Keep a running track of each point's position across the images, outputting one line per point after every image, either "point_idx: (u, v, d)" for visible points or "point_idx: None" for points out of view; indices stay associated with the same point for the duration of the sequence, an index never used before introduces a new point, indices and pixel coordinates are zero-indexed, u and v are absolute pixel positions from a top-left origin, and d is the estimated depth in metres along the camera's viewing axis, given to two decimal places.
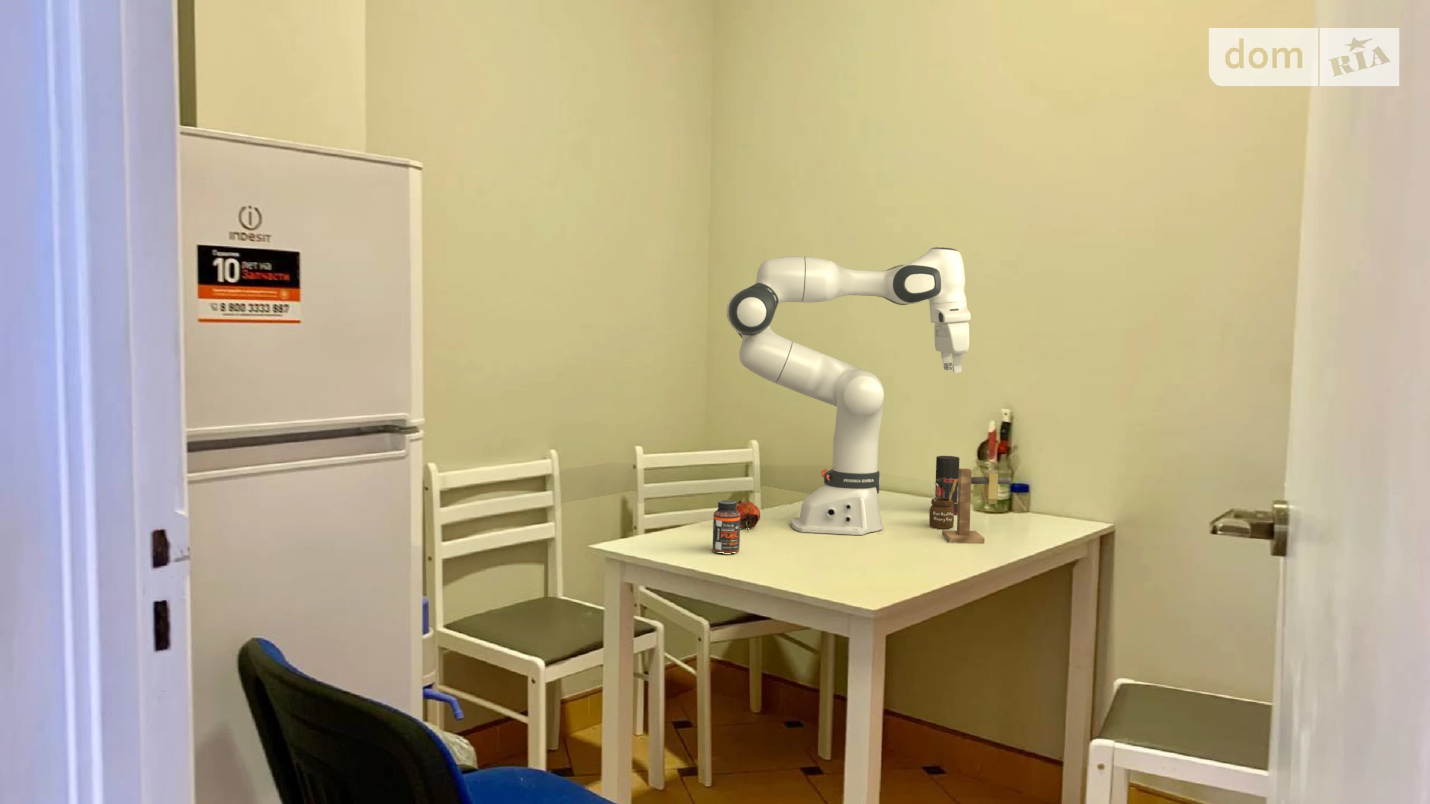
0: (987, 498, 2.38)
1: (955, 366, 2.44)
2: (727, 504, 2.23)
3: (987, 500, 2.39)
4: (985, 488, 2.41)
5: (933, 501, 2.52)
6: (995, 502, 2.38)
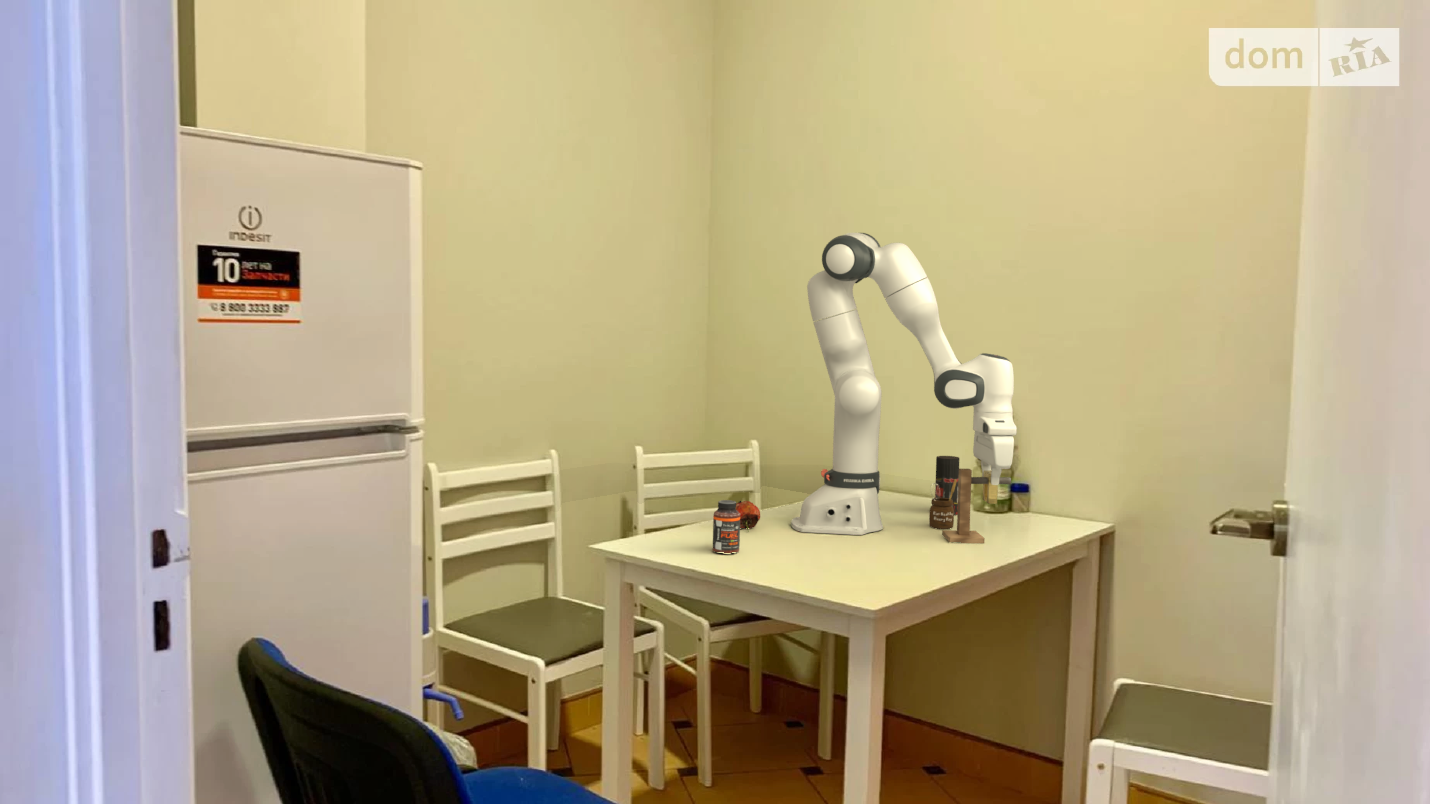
0: (987, 498, 2.38)
1: (993, 478, 2.36)
2: (727, 504, 2.23)
3: (987, 500, 2.39)
4: (985, 488, 2.41)
5: (933, 501, 2.52)
6: (995, 502, 2.38)
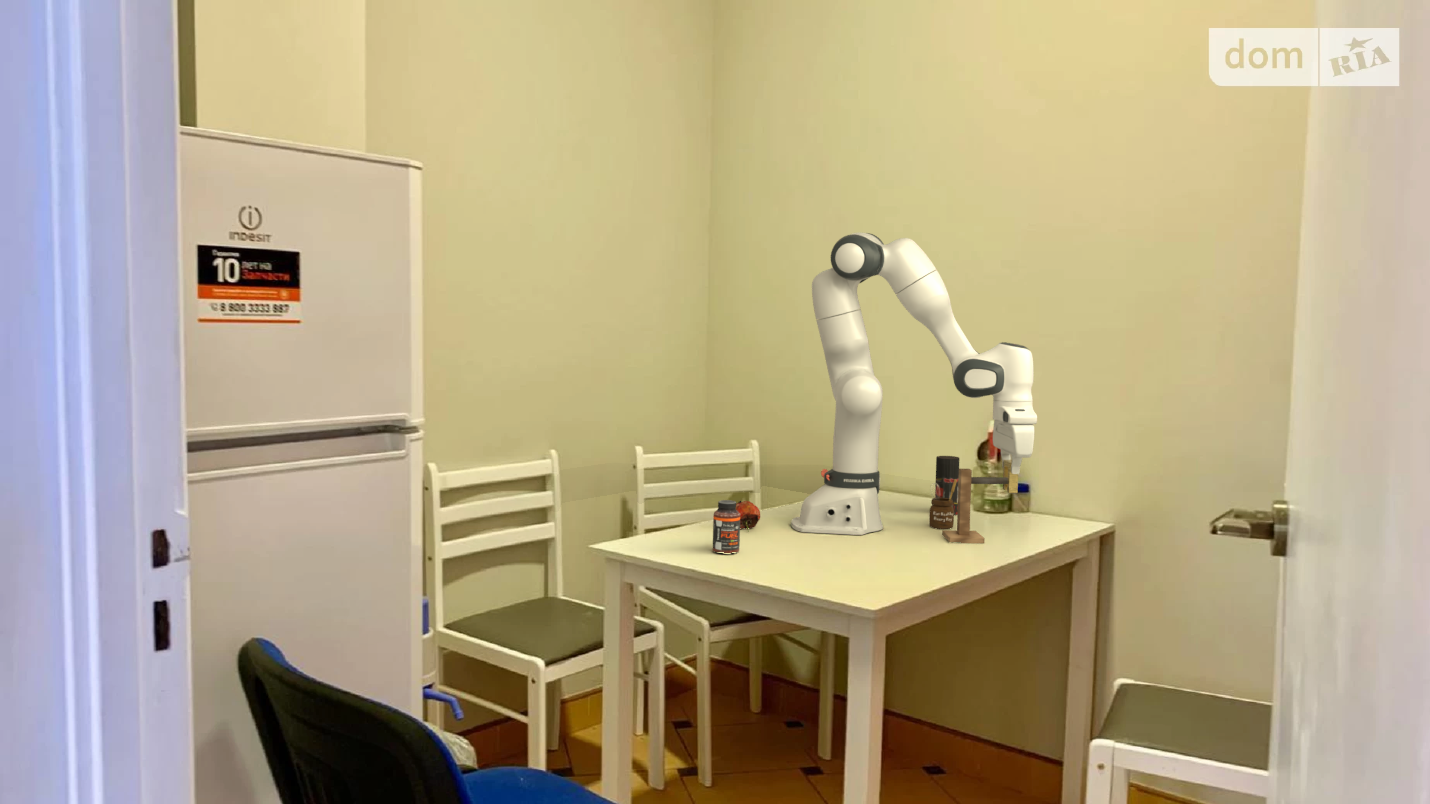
0: (1008, 488, 2.38)
1: (1013, 467, 2.35)
2: (727, 504, 2.23)
3: (1007, 489, 2.38)
4: None
5: (933, 501, 2.52)
6: (1016, 491, 2.37)
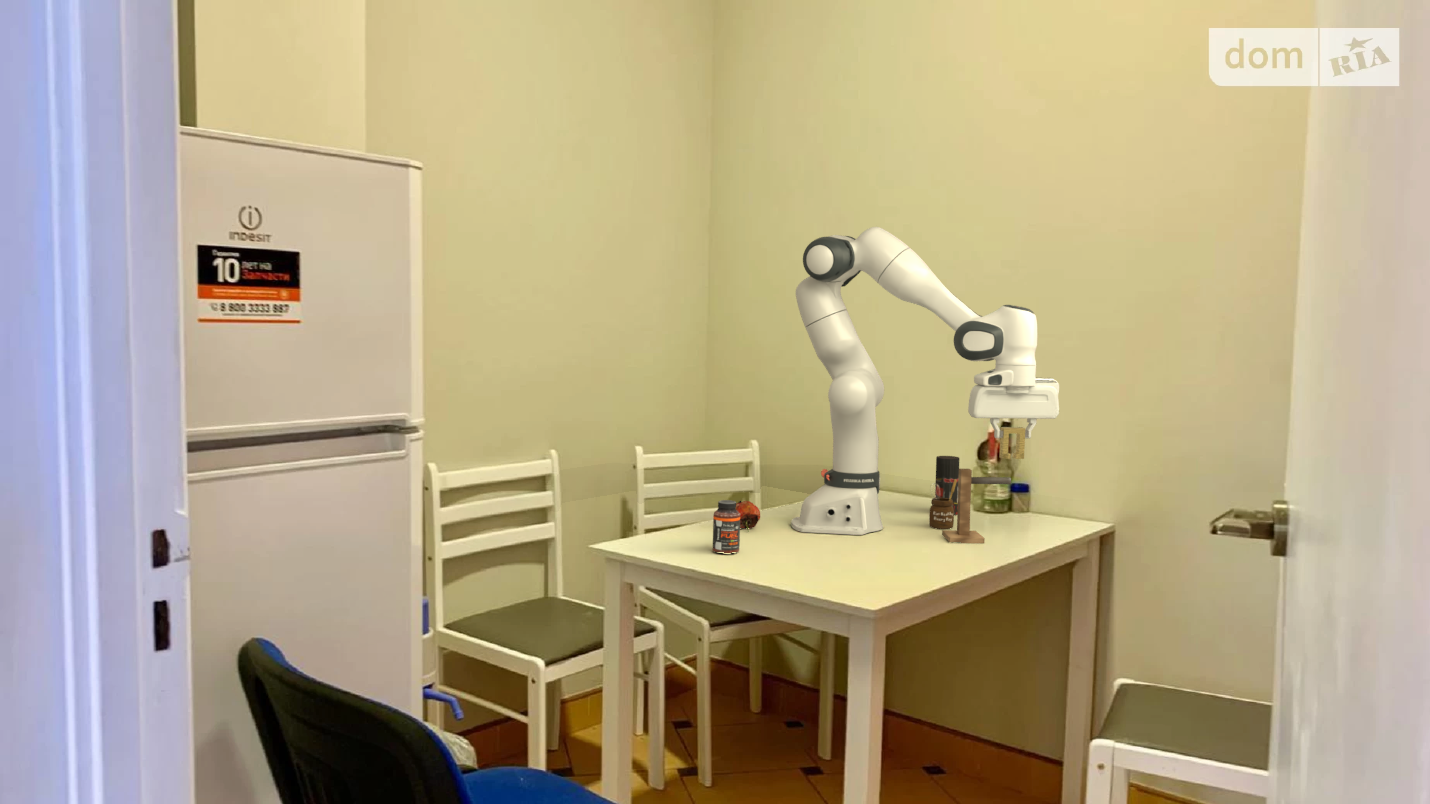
0: None
1: (995, 430, 2.33)
2: (727, 504, 2.23)
3: None
4: (1016, 445, 2.34)
5: (933, 501, 2.52)
6: (1002, 457, 2.32)
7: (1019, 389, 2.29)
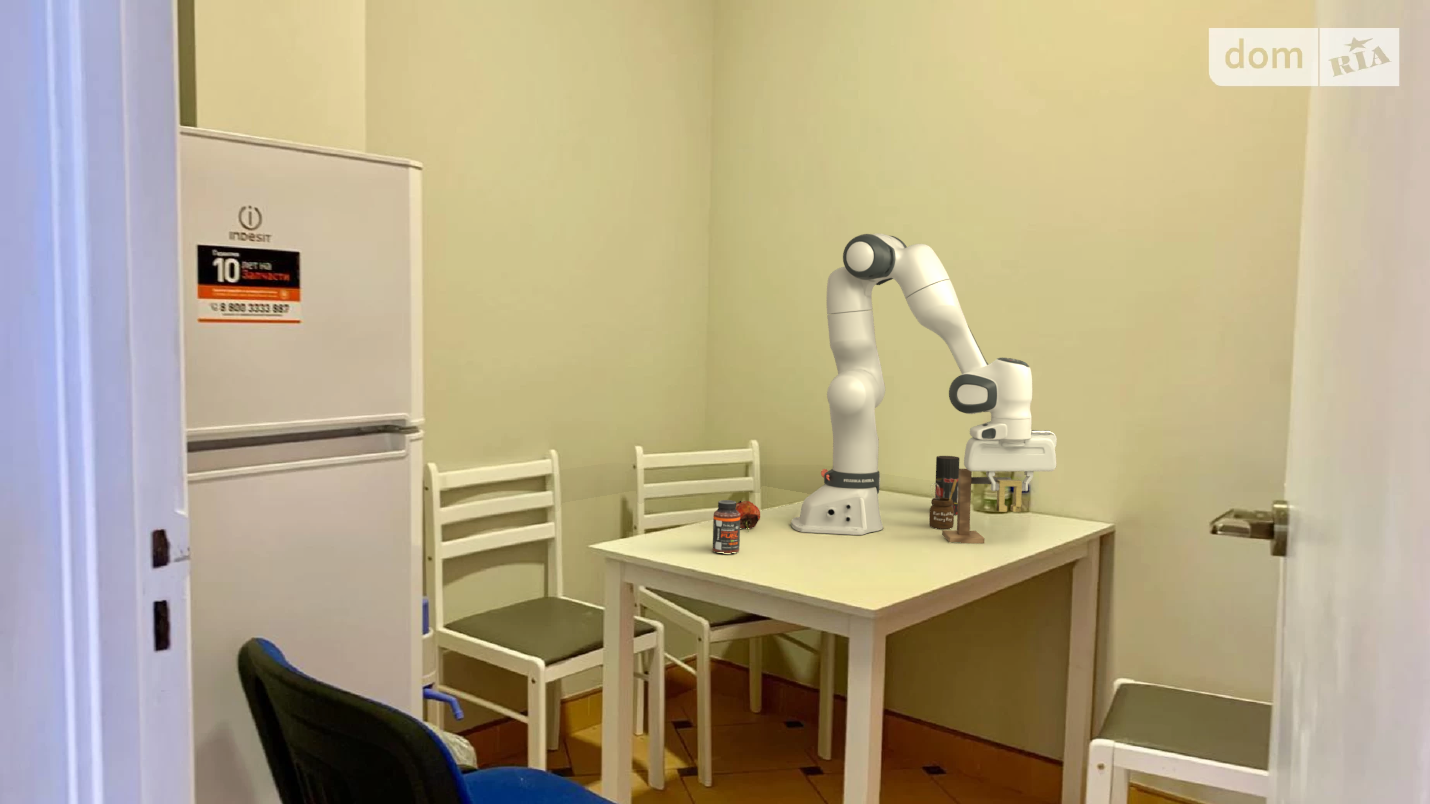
0: None
1: (991, 483, 2.33)
2: (727, 504, 2.23)
3: None
4: None
5: (933, 501, 2.52)
6: (998, 510, 2.32)
7: (1014, 442, 2.28)
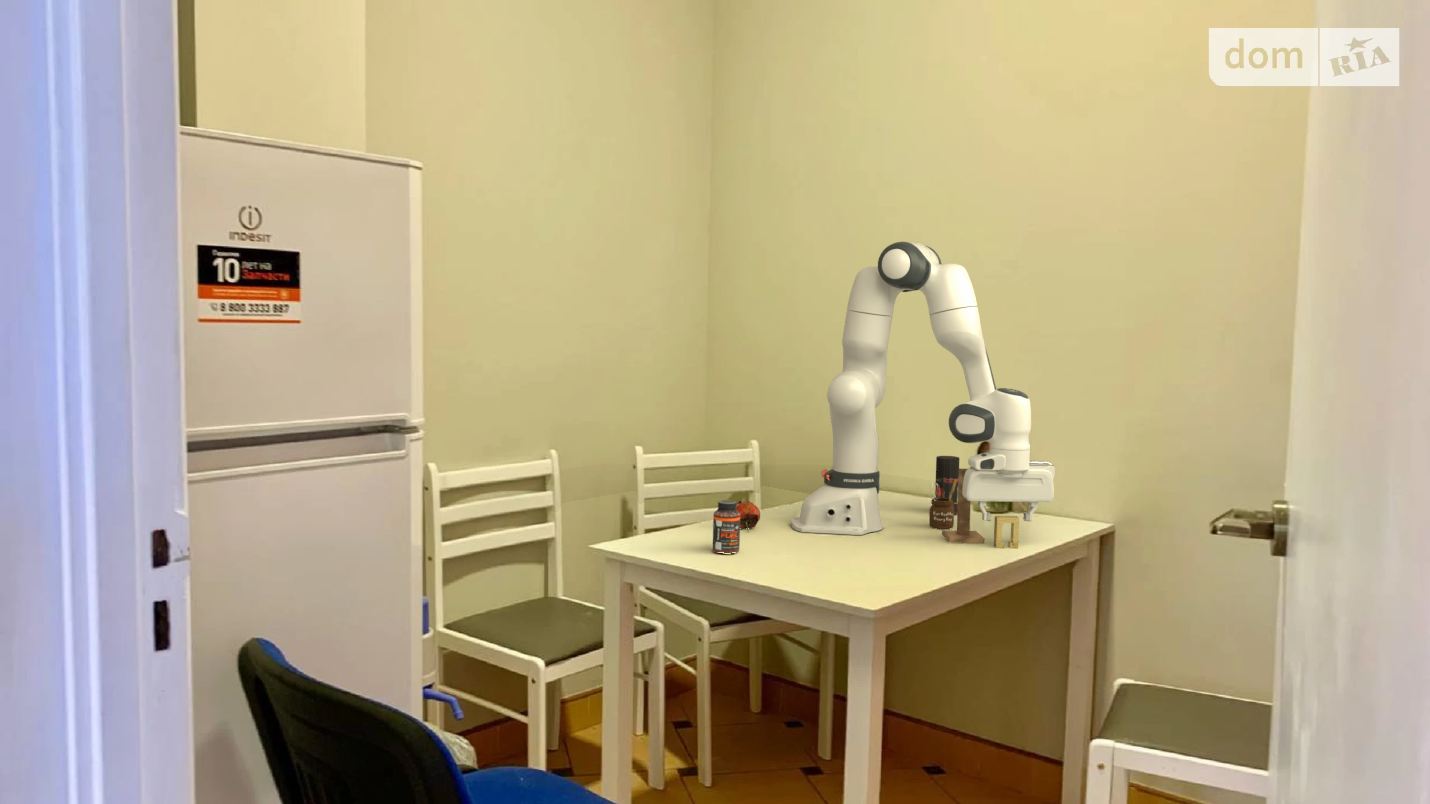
0: None
1: (982, 513, 2.33)
2: (727, 504, 2.23)
3: None
4: (1011, 533, 2.34)
5: (933, 501, 2.52)
6: (995, 546, 2.33)
7: (1012, 473, 2.29)
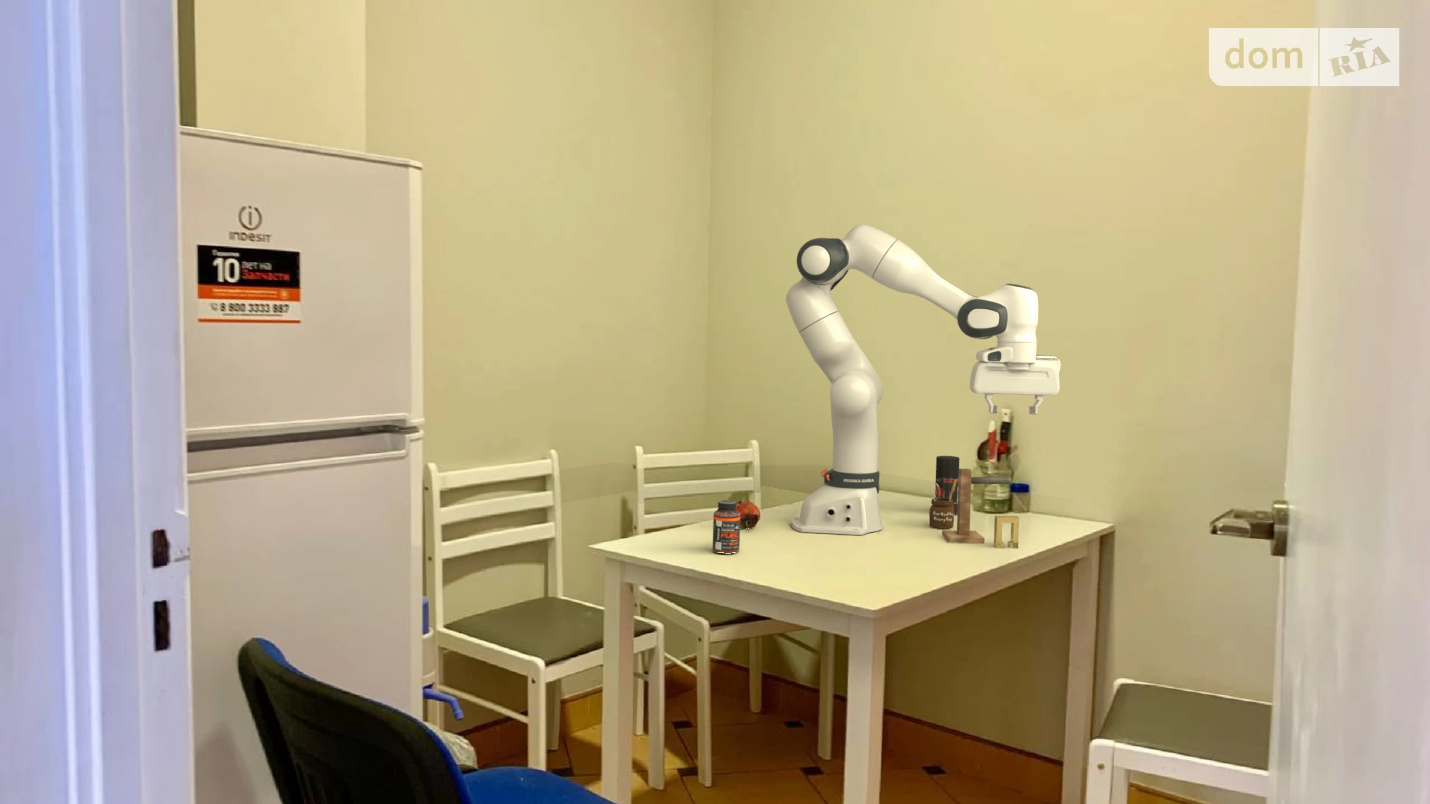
0: None
1: (989, 406, 2.39)
2: (727, 504, 2.23)
3: None
4: (1011, 533, 2.34)
5: (933, 501, 2.52)
6: (995, 546, 2.33)
7: (1019, 366, 2.35)
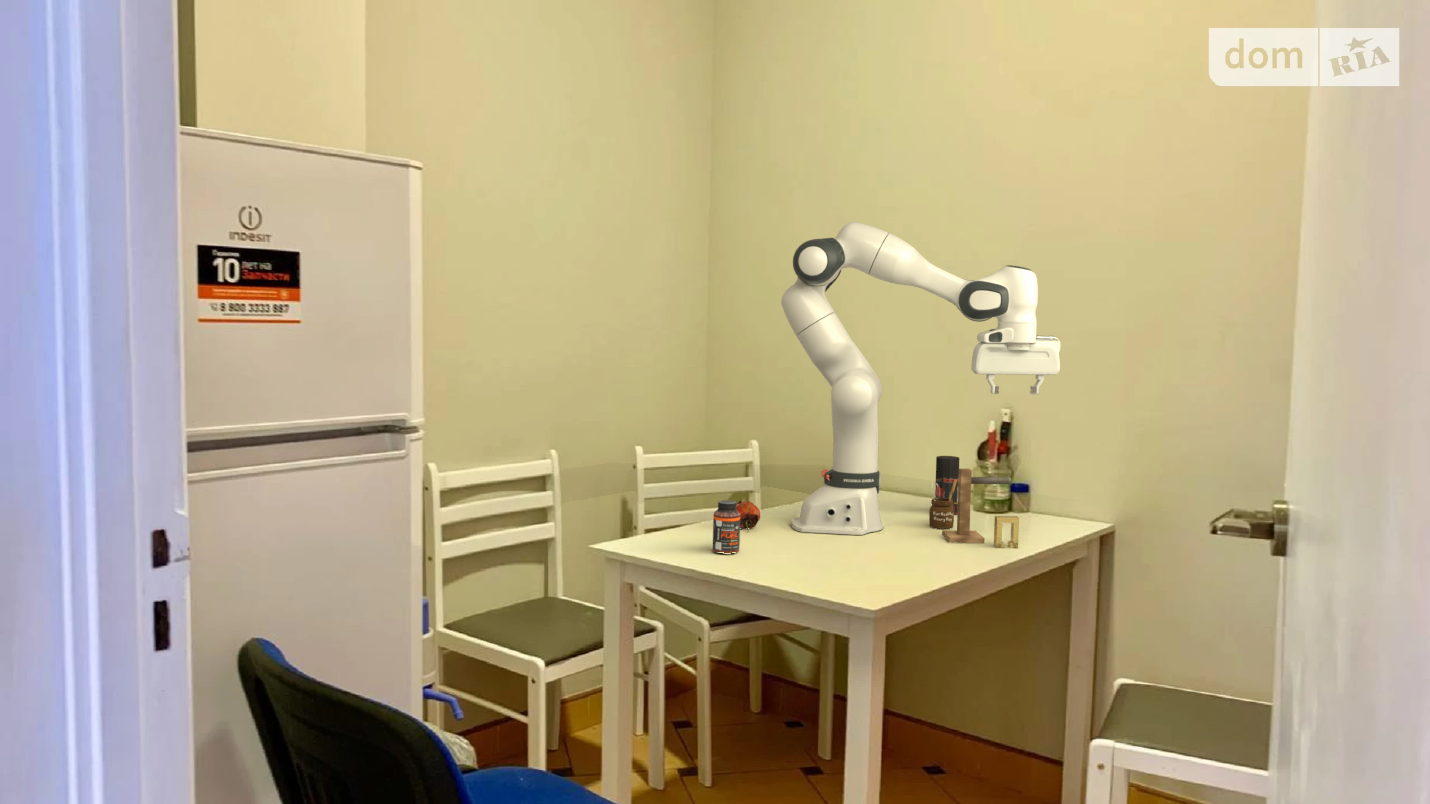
0: None
1: (991, 387, 2.42)
2: (727, 504, 2.23)
3: None
4: (1011, 533, 2.34)
5: (933, 501, 2.52)
6: (995, 546, 2.33)
7: (1019, 346, 2.38)
